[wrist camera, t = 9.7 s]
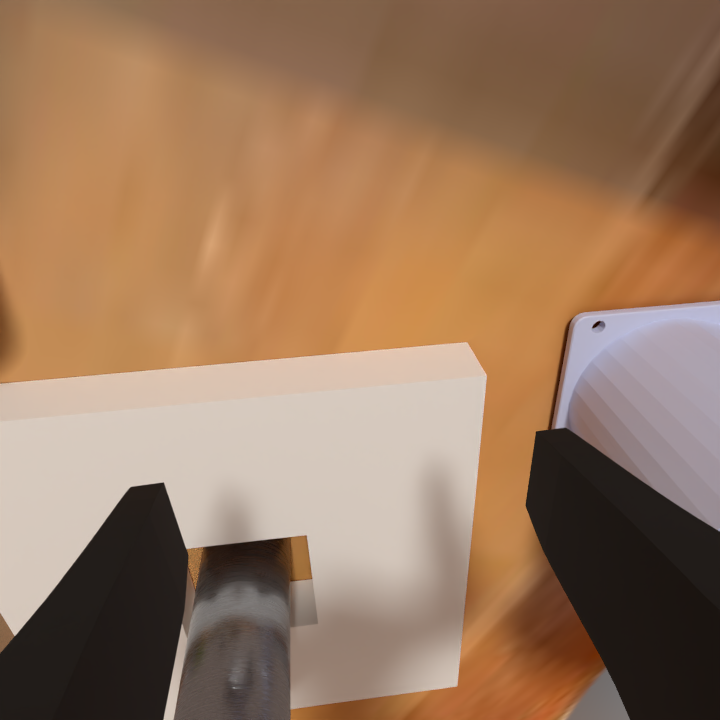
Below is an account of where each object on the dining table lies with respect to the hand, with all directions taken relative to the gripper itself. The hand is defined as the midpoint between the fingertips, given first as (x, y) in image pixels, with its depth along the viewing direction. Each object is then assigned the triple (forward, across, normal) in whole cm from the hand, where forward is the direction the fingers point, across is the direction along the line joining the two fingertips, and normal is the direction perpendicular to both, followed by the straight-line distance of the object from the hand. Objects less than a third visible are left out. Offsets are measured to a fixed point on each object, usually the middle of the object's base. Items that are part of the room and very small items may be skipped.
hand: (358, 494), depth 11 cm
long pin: (+10, +5, +13) cm, 17 cm away
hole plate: (+10, +5, +13) cm, 17 cm away
